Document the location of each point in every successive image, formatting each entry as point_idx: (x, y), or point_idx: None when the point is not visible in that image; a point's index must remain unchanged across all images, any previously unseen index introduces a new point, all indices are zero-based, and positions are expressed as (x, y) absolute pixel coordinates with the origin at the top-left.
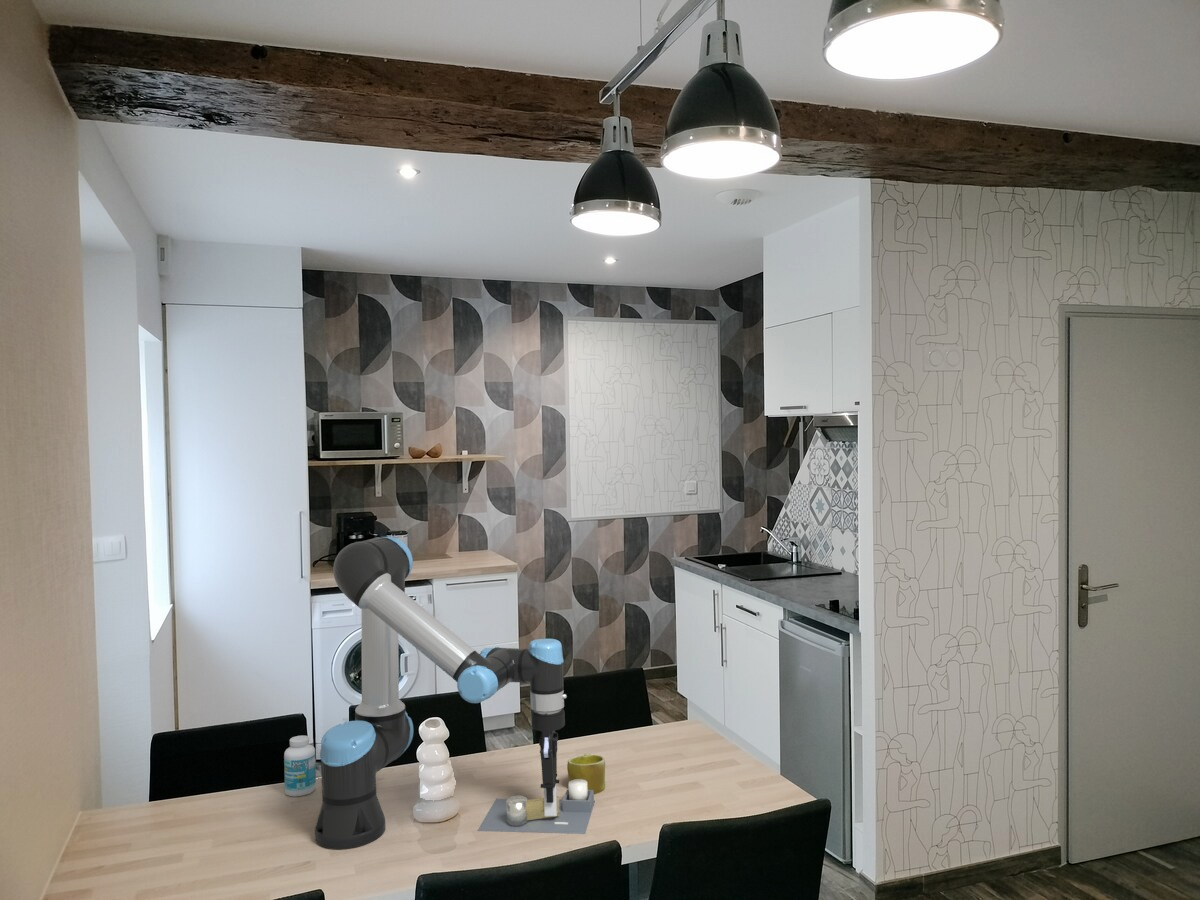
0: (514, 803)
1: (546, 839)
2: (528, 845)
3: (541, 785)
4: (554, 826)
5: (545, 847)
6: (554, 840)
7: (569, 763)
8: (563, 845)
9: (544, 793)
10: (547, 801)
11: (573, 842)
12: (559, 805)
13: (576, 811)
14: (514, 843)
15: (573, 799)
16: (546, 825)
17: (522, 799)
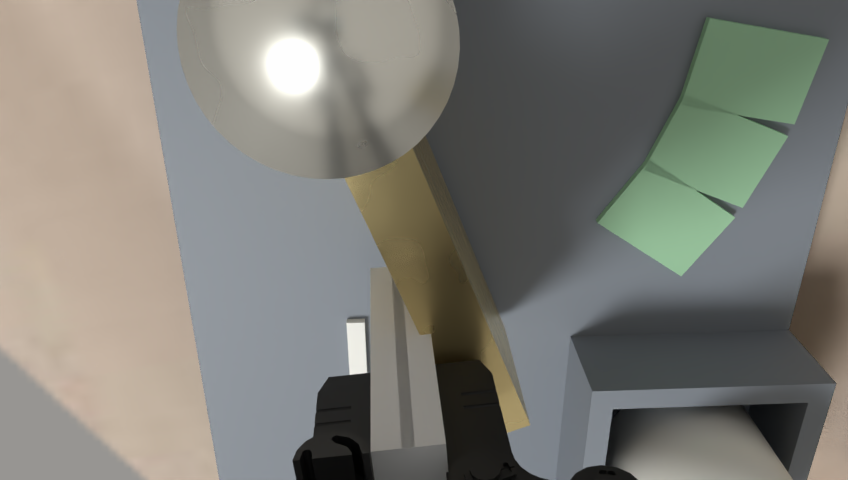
0: (198, 45)
1: (180, 271)
2: (47, 162)
3: (312, 467)
4: (306, 325)
5: (55, 288)
6: (178, 325)
7: None
8: (120, 391)
9: (371, 401)
10: (325, 393)
11: (178, 438)
12: (691, 293)
13: (563, 426)
14: (46, 37)
15: (624, 458)
16: (315, 266)
17: (338, 123)
